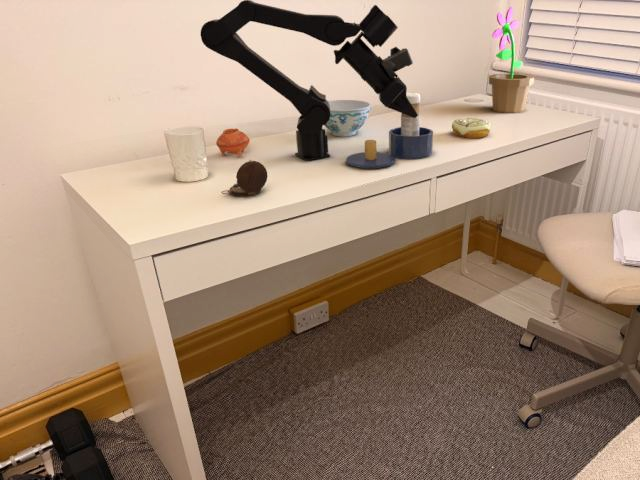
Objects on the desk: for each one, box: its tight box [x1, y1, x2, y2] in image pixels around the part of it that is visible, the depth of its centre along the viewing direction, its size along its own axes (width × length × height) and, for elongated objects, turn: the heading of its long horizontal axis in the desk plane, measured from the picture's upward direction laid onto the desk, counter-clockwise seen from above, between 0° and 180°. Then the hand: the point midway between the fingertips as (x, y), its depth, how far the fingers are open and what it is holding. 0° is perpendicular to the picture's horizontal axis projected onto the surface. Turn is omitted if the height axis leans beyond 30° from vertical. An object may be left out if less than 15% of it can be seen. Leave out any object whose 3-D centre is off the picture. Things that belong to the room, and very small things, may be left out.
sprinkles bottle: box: [400, 92, 421, 136], centre depth 132 cm, size 5×5×14 cm
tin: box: [388, 126, 434, 160], centre depth 134 cm, size 10×10×5 cm
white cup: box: [163, 125, 209, 183], centre depth 117 cm, size 8×8×10 cm
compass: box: [221, 159, 268, 197], centre depth 108 cm, size 8×8×7 cm
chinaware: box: [323, 99, 371, 137], centre depth 152 cm, size 15×15×8 cm
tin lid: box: [345, 139, 396, 169], centre depth 127 cm, size 11×11×5 cm
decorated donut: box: [451, 117, 492, 139], centre depth 151 cm, size 10×11×4 cm
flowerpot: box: [488, 6, 535, 114], centre depth 175 cm, size 14×14×30 cm
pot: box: [215, 127, 251, 158], centre depth 134 cm, size 8×8×7 cm
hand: (413, 112), depth 131 cm, fingers open, 9 cm apart
